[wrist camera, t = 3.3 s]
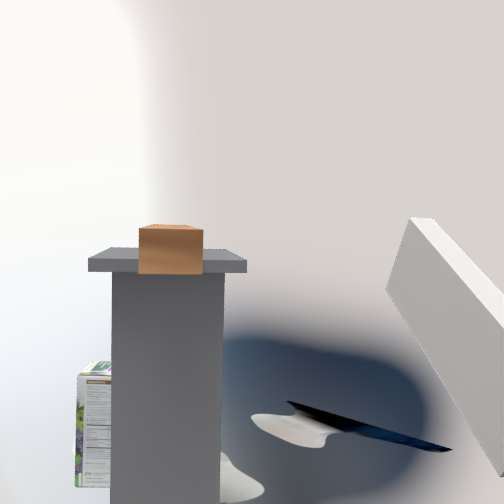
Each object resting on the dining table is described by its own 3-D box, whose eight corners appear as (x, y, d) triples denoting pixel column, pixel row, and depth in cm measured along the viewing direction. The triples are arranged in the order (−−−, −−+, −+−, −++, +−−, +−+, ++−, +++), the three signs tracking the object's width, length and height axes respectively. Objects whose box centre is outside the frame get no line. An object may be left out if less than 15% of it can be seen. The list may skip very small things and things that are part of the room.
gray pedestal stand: (251, 634, 38) (261, 261, 36) (70, 658, 35) (71, 259, 33) (226, 512, 53) (233, 248, 51) (100, 523, 51) (102, 246, 49)
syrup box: (88, 464, 63) (89, 359, 62) (132, 464, 63) (133, 360, 62) (74, 488, 57) (74, 373, 56) (122, 488, 57) (123, 374, 57)
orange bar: (202, 274, 26) (203, 230, 26) (138, 273, 25) (138, 228, 25) (185, 247, 51) (185, 225, 51) (153, 247, 51) (153, 224, 51)
